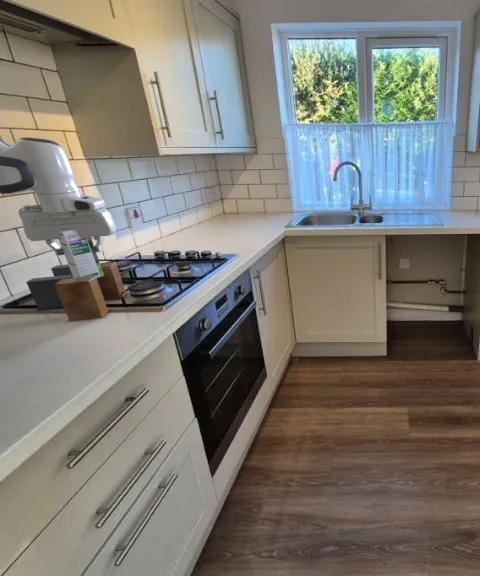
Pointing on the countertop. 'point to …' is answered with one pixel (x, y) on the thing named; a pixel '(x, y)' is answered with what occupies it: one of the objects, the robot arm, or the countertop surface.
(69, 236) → the syrup box
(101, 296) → the wooden blocks
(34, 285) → the grey boxes
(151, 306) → the countertop surface
